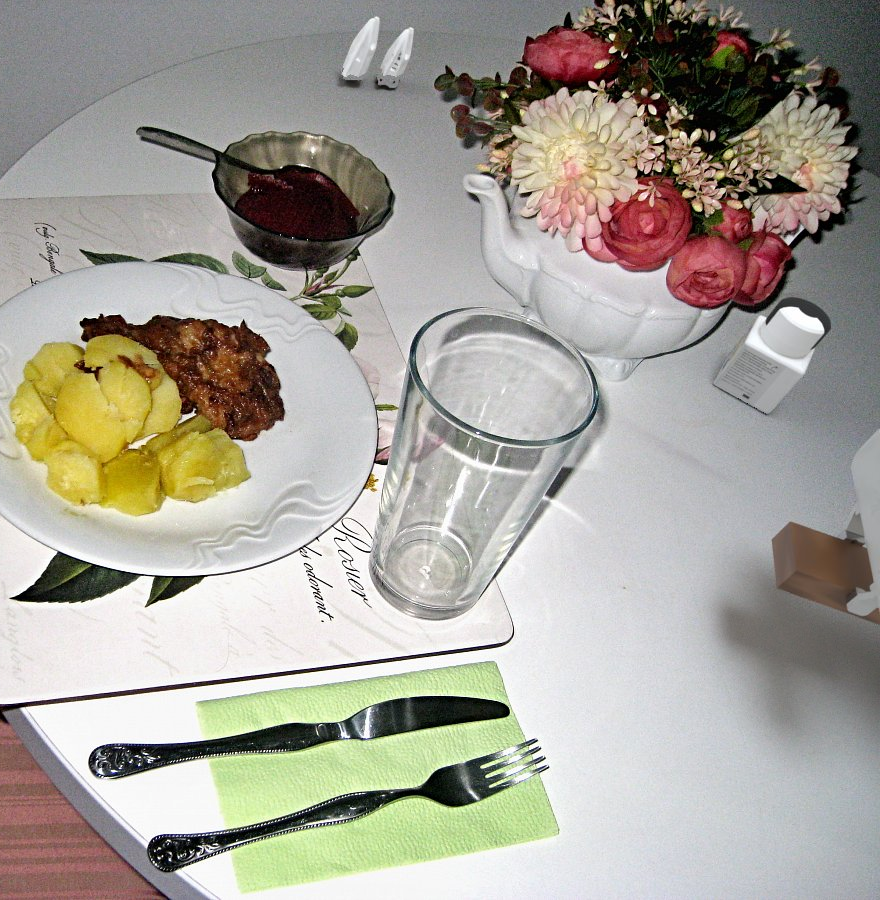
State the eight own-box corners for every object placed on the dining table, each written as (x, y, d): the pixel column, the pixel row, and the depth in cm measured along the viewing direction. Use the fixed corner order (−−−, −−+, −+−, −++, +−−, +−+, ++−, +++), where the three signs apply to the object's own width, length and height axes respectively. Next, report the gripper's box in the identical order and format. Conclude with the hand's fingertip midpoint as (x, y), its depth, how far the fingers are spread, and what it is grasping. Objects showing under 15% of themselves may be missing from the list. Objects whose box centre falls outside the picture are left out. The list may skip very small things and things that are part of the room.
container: (726, 356, 121) (785, 281, 111) (780, 386, 119) (845, 312, 109) (711, 384, 116) (771, 308, 107) (767, 416, 114) (834, 341, 105)
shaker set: (339, 88, 149) (356, 22, 141) (332, 75, 152) (348, 9, 144) (404, 91, 153) (424, 27, 145) (395, 79, 156) (415, 15, 147)
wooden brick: (894, 582, 85) (916, 565, 83) (905, 634, 81) (929, 617, 79) (771, 539, 86) (790, 520, 84) (776, 588, 82) (796, 570, 80)
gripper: (1034, 597, 65) (901, 684, 75) (970, 412, 79) (865, 507, 89) (948, 567, 65) (828, 658, 75) (899, 388, 79) (803, 485, 89)
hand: (847, 575), depth 82 cm, fingers closed on wooden brick, 6 cm apart
